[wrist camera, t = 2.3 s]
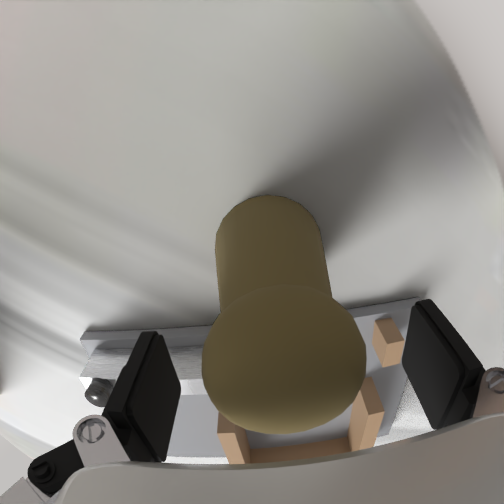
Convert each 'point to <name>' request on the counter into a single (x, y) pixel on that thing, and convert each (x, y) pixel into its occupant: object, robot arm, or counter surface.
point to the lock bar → (113, 360)
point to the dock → (301, 443)
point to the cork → (278, 324)
